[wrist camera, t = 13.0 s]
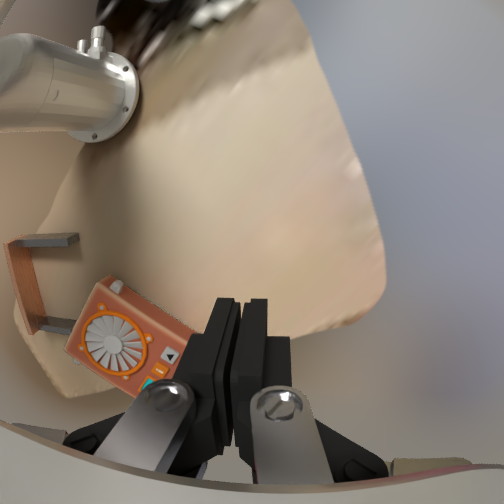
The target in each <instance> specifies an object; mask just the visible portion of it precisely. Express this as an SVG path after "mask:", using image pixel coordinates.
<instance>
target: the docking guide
mask: <svg viewBox="0 0 504 504" xmlns="http://www.w3.org/2000/svg"><path fill="white" fill-rule="evenodd" d="M77 241H79V235H78V233H56V234H33V235H21V236H19V237H17V238H15V239H12V240H10V241H8V242H6V243H4V244H3V245H4V250H5V254H6V259H7V264H8V268H9V271H10V276H11V279H12V283H13V287H14V291H15V294H16V297H17V301H18V304H19V307H20V310H21V314H22V317H23V320H24V323H25V325H26V328H27V331H28V334H30V335H34V334H35V333H36V332H37V331H38V330H44V331H49V332H54V333H59V334H65V335H70V334H71V332H72V330H73V328H74V325H75V323H76V321H77V320H70V319H63V318H56V317H50V316H46V313H45V310H44V307H43V303H42V300H41V296H40V293H39V289H38V285H37V281H36V277H35V273H34V269H33V264H32V260H31V255H30V250H29V247H68V246H70V245H72V244H74V243H76V242H77Z"/></svg>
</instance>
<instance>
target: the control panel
mask: <svg viewBox="0 0 504 504" xmlns="http://www.w3.org/2000/svg"><path fill="white" fill-rule="evenodd" d="M193 333H197V332H195V331H194V330H192V329H190V328H189V327H187V326H186V325H184V324H182V323H181V322H179V321H178V320H176V319H175V318H173V317H171V316H170V315H168V314H167V313H165V312H164V311H162V310H161V309H159V308H158V307H156V306H155V305H153V304H152V303H150V302H149V301H147V300H146V299H144V298H143V297H141V296H140V295H138V294H137V293H135V292H134V291H133V290H131V289H130V288H128V287H127V286H125V285H124V284H123V282H122V281H121V280H117V279H116V278H114V277H113V276H111V275H107V276H106V277H104V278H103V279H101V280H99V281H98V282H96V284H95V286H94V288H93V290H92V291H91V293H90V295H89V297H88V299H87V301H86V303H85V305H84V307H83V309H82V311H81V313H80V315H79V317H78V319H77V321H76V323H75V325H74V328H73V330H72V332H71V334H70V336H69V338H68V340H67V343H66V345H65V347H64V351H65V352H66V353H68V354H69V355H70V356H72V357H73V358H74V359H73V361H74V362H75V364H78V365H79V364H80V363H81V364H83V365H84V366H86V367H87V368H88V369H90V370H91V371H93V372H94V373H96V374H97V375H99V376H100V377H102V378H103V379H105V380H106V381H108V382H109V383H111V384H112V385H114V386H116V387H117V388H119V389H120V390H122V391H124V392H125V393H127V394H129V395H130V396H132V397H134V398H135V399H136V397H137V396H138V395H139V393H140V392H141V391H142V390H143V389H144V388H145V387H146V386H147V385H148V384H150V383H152V382H154V381H157V380H160V379H172V377H173V375H174V373H175V370H176V368H177V366H178V363H179V361H180V359H181V356H182V354H183V352H184V350H185V347H186V345H187V343H188V340H189V338H190V336H191V334H193Z"/></svg>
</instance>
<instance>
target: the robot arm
mask: <svg viewBox="0 0 504 504" xmlns="http://www.w3.org/2000/svg"><path fill="white" fill-rule="evenodd" d="M15 1H16V0H0V27H1V26H2V24H3V22H4V20H5V18H6V17H7V15H8V13H9V11H10V10H11V8H12V6H13V5H14V3H15ZM105 32H106V27H104V26H97V27H94V28H92V32H91V48H90V49H88V54H86V50H87V40H80V41H78V45H77V50H75V49H72V48H70V47H67V46H64V45H61V44H58V43H56V42H53V41H50V40H47V39H44V38H42V37H39V36H35V35H32V34H26V33H19V34H13V35H7V36H4V37H1V38H0V133H1V132H23V131H24V132H25V131H67V132H68V134H69V135H71V136H72V137H73V138H74V139H76V140H78V141H81V142H85V143H95V142H101V141H104V140H107V139H109V138H111V137H112V136H114V135H116V134H117V133H118V132H119V131H120V130H122V128H123V127H124V126H125V125H126V124H127V123H128V121H129V119H130V118H131V116H132V115H133V112H134V110H135V108H136V105H137V101H138V97H139V79H138V75H137V72H136V70H135V68H134V66H133V65H132V64H131V63H130V62H129V60H127V59H126V58H124V57H123V56H121V55H119V54H116V53H112V52H106V47H104V40H105ZM128 69H129V70H128ZM127 109H129V110H128V112H127ZM291 380H292V378H291V355H290V337H283V336H267V299H251V302H250V303H245V304H244V308H243V313H242V318H241V306H240V302H235V301H234V298H217V300H216V303H215V305H214V308H213V311H212V313H211V316H210V318H209V321H208V324H207V326H206V329H205V332H204V334H199V333H193V334H191V336H190V338H189V340H188V343H187V345H186V347H185V350H184V352H183V354H182V356H181V359H180V361H179V363H178V366H177V368H176V370H175V373H174V375H173V377H172V379H160V380H157V381H154V382H152V383H150V384H148V385H147V386H146V387H145V388H144V389H143V390H142V391H141V392H140V393H139V395H138V396H137V397H136V399H135V400H134V401H133V403H132V404H131V405H130V407H129V408H128V409H127V411H126V412H124V413H121V414H119V415H116V416H113V417H111V418H108V419H105V420H103V421H100V422H97V423H94V424H92V425H89V426H87V427H83V428H80V429H78V430H76V431H74V432H72V433H71V434H68V433H67V431H66V430H58V429H50V428H44V427H37V426H31V425H26V424H20V423H12V424H9V423H7V422H5V421H2V420H0V504H504V465H502V464H472V463H471V462H470V461H468V460H466V459H464V458H458V457H451V458H421V459H407V458H394V459H393V461H392V462H385V461H383V460H382V459H381V458H379V457H378V456H377V455H375V454H373V453H371V452H369V451H368V450H366V449H364V448H363V447H361V446H359V445H358V444H356V443H354V442H352V441H350V440H349V439H347V438H346V437H344V436H342V435H341V434H339V433H337V432H336V431H334V430H332V429H331V428H329V427H327V426H326V425H324V424H323V423H321V422H319V421H318V420H316V419H314V416H313V413H312V409H311V406H310V403H309V401H308V399H307V397H306V395H304V394H303V393H302V392H301V391H299V390H297V389H295V388H293V387H292V381H291ZM233 429H234V436H235V446H236V447H239V455H240V458H241V459H242V460H244V461H245V462H246V463H247V464H248V465H250V467H251V468H252V478H253V484H242V483H229V482H219V481H210V480H202V478H203V476H204V473H205V471H206V469H207V464H208V462H207V461H208V460H209V459H211V458H213V457H215V456H217V455H223V450H224V446H230V445H231V441H232V435H233Z"/></svg>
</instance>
